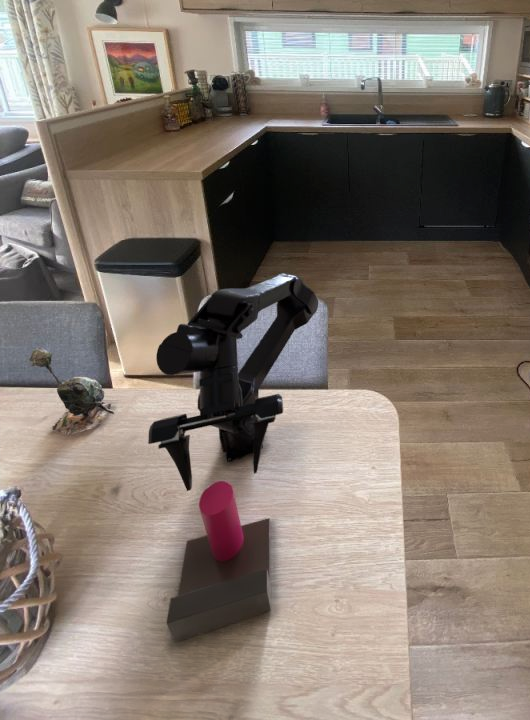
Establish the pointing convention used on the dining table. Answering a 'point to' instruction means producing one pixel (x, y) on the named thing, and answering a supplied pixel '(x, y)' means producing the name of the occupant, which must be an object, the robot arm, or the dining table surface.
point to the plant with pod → (76, 399)
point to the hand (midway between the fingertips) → (223, 481)
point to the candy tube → (221, 520)
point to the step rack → (222, 584)
